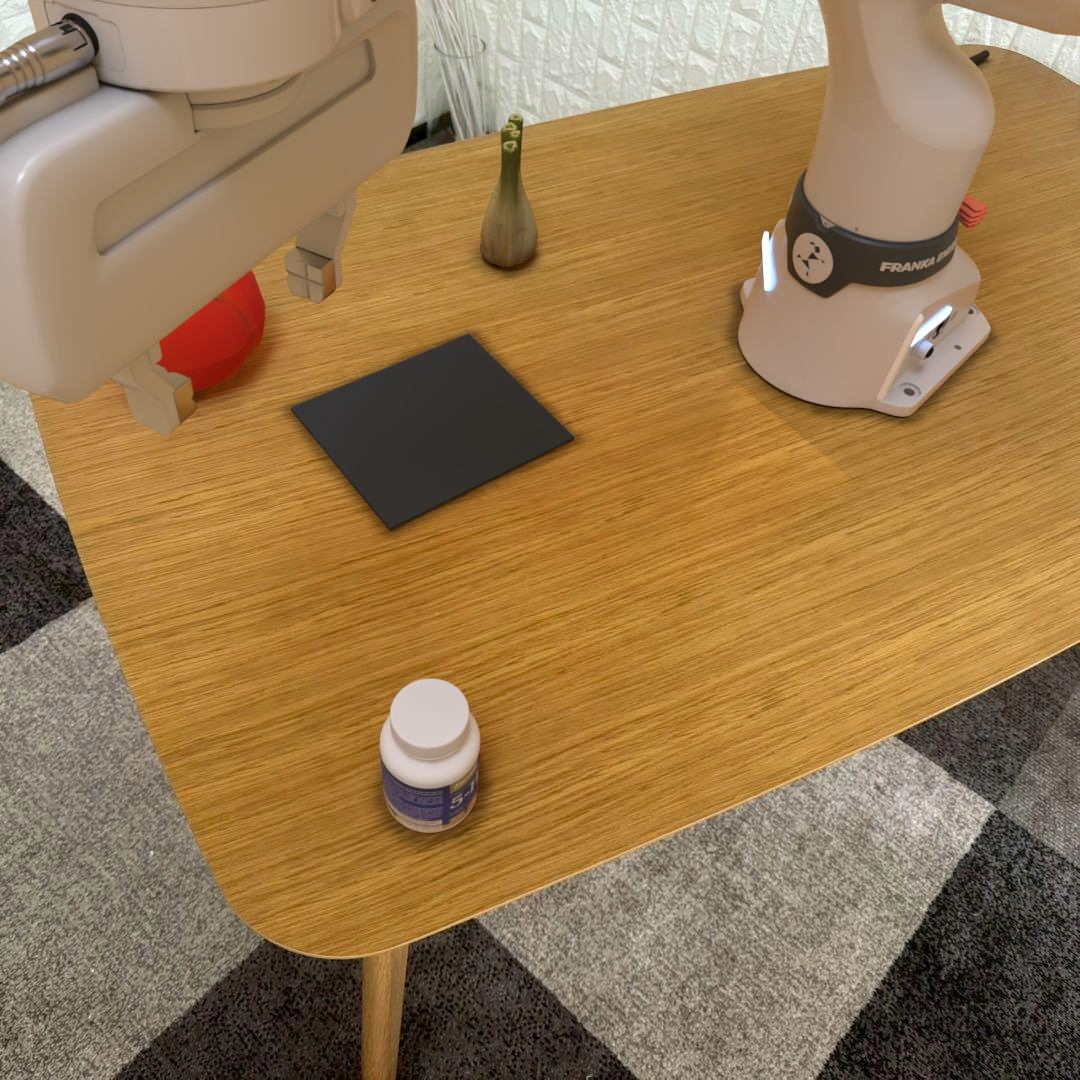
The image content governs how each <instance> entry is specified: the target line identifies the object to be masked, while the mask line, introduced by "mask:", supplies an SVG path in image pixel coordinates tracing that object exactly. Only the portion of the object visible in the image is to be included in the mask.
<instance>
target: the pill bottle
mask: <svg viewBox="0 0 1080 1080" xmlns="http://www.w3.org/2000/svg"><path fill="white" fill-rule="evenodd" d="M389 709H390V710H389V715H388V716H387V718H386V719H385V721H384V723H383V725H382V727H381V731H380V734H379V756H380V769H381V778H382V779H381V780H382V786H383V787H382V788H383V797H384V801H385V804H386V806H387V809H388V810H389V812H390V814H391V815H392V816H393V818H394V819H395V820H396V821H397V822H398V823H400V825H402V826H404V827H406V828H407V829H410V830H412V831H415V832H419V833H423V834H424V833H426V834H433V833H440V832H444V831H447V830H449V829H452V828H454V827H456V826H457V825H458V824H460V823H461V822H462V821H463V820H465V818H467V816H468V815H469V814H470V812H471V811H472V809H473V807H474V806H475V803H476V801H477V796H478V791H479V772H480V756H481V732H480V728H479V725H478V723H477V720H476V718H475V716H474V715H473V714H472V712H470V706H469V703H468V700H467V698H466V696H465V694H464V693H463V692H462V691H461V690H460V689H459V688H458V686H456V685H454V684H453V683H452V682H449V681H447V680H443V679H440V678H432V677H431V678H430V677H429V678H421V679H418V680H414V681H412V682H410V683H408V684H407V685H405V686H404V687H402V688H401V689H400V690H399V691H398V692H397V694H396V695H395V697H394V699H392V702H391V705H390V708H389Z"/></svg>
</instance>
